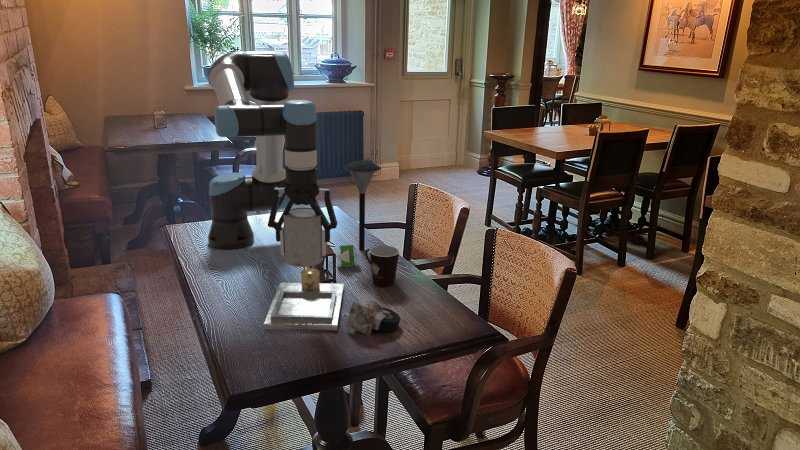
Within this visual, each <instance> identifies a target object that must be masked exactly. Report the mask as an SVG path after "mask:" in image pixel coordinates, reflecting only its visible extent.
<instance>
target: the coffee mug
mask: <svg viewBox="0 0 800 450" xmlns="http://www.w3.org/2000/svg"><path fill="white" fill-rule="evenodd" d="M368 253H369V254H368ZM364 255H365V258H366V260H367V262H368V264H370V267H371V268H370V269H371V276H372V284H373V285H374V286H376V287H379V288H388V287H392V286H394V285H395V282H396V276H397V269H398V262H399V255H400V249H399V248H397V247H395V246H390V245H376V246H373V247H371V248H367V249H366V250H365V253H364ZM368 255H369V256H368ZM369 257H370V258H369Z"/></svg>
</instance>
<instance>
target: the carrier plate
mask: <svg viewBox="0 0 800 450" xmlns="http://www.w3.org/2000/svg"><path fill="white" fill-rule="evenodd" d="M300 278H301V280H300V281H301V282H280V283H279V286H278V288H277V290H276V293H275V295H274V297H273V300H272V302H271V305H270V307H269V309H268V312H267V315H266V318H265V319H264V322H263V330H281V331H282V330H283V331H285V330H286V331H287V330H293V331H294V330H295V331H296V330H299V331H300V330H301V331H338V328H339V320H340V317H341V315H340V314H341V308H342V304H343V303H342V301H343V295H344V290H345V286H344V285H345V284H344V283H322V282H320V281H321V280H320V270H318V269H316V268H305V269H303V270H301V272H300Z"/></svg>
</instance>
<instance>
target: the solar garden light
mask: <svg viewBox="0 0 800 450" xmlns="http://www.w3.org/2000/svg"><path fill="white" fill-rule="evenodd" d="M343 169H344V170H345V171H348V172H350V176H351V178H352V180H353V182H354V184H355V186H356V189H357V191H358V192H359V193H358V194H359V197H358V198H359V207H358V211H359V215H358V220H359V221H358V231H359V232H358V250H359V251H365V247H366V245H365V244H366V243H365V241H366V240H365V238H366V237H365V235H366V231H365V229H366V228H365V227H366V191H367V189H368V187H369V185H370V183H371V181H372V179H373V177H374V174H375V172H378V171H380V170H381V169H382V167H381V166H379V165H378V164H376V163H374V162H372V161H370V160H353V161H352V162H350V163H348V164H347V165H344V166H343Z"/></svg>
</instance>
